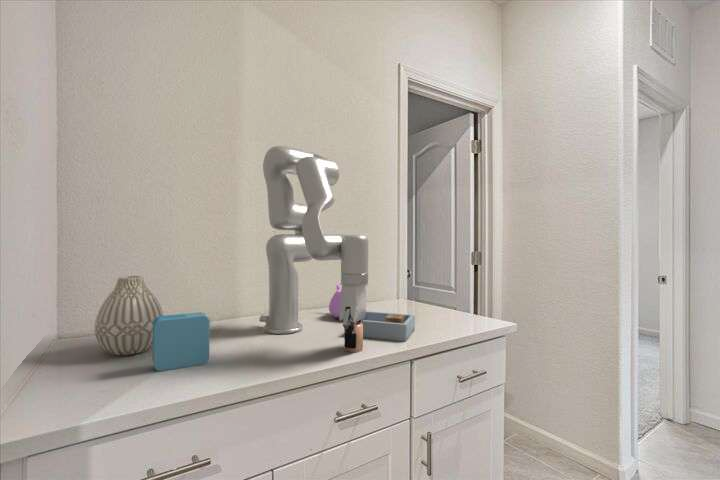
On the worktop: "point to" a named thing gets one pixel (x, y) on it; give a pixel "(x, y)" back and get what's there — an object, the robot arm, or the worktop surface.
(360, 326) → the terracotta canister
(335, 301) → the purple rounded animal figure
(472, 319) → the worktop surface
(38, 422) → the worktop surface
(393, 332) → the tote
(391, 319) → the wood cube
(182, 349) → the data package
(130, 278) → the vase
